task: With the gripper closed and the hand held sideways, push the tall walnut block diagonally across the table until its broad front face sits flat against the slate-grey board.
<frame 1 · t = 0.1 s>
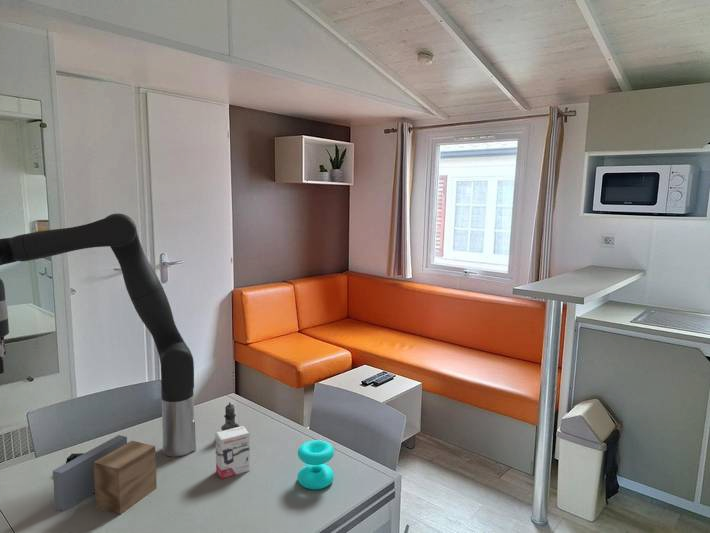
slate board: (94, 487, 126), on the table
walnut block: (127, 497, 122), on the table
turquoise spool: (315, 481, 131), on the table
dark grey figurine: (230, 437, 155), on the table
ink box: (233, 471, 135), on the table
black rectangular block: (76, 471, 135), on the table
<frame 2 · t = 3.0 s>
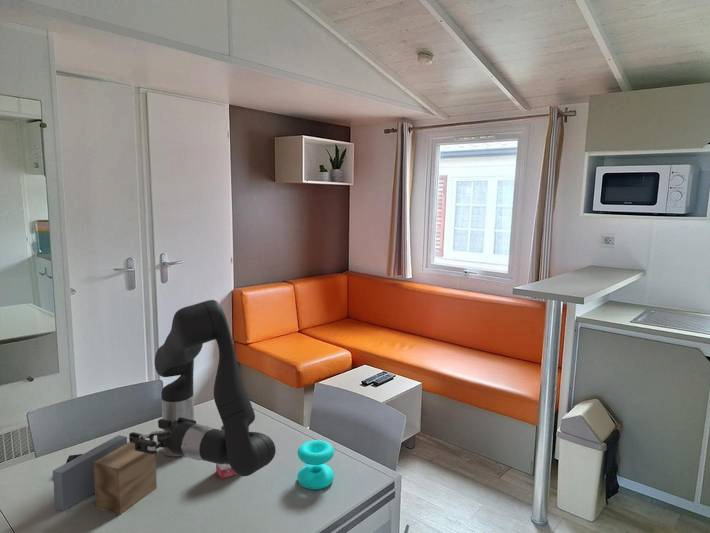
hand: (145, 429, 116), 20 cm above the table, tool horizontal, fingers open, 8 cm apart
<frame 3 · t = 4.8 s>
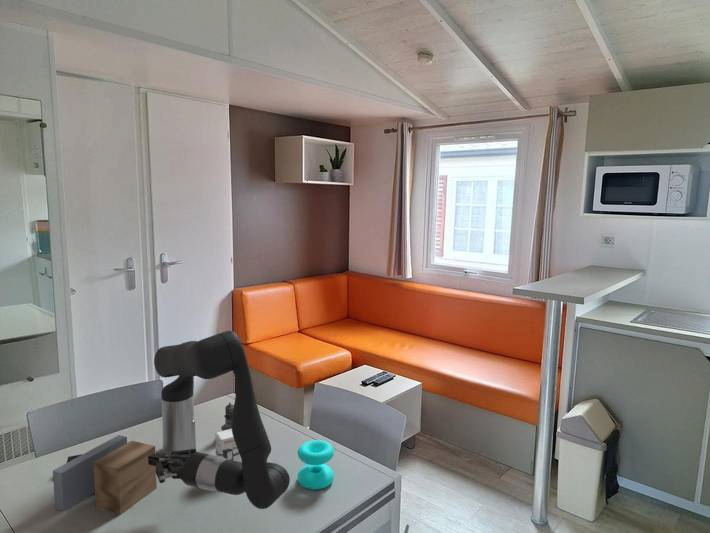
hand: (150, 458, 118), 12 cm above the table, tool horizontal, fingers closed
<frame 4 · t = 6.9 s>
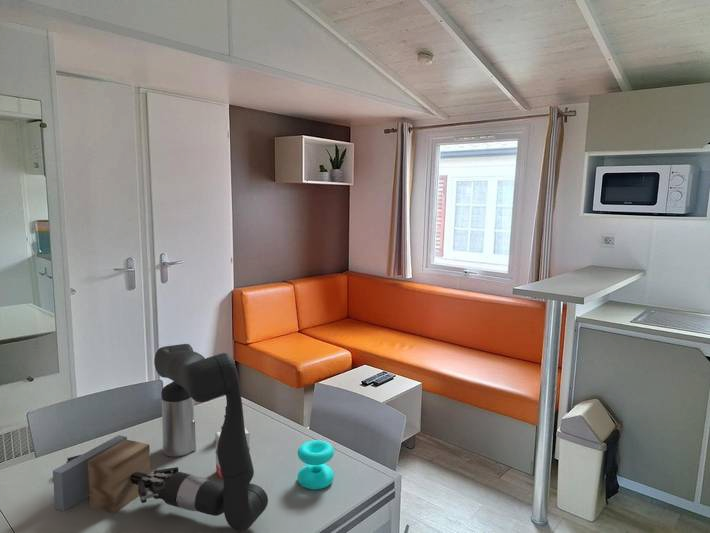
hand: (133, 477, 121), 6 cm above the table, tool horizontal, fingers closed
walnut block: (121, 496, 123), on the table, touching gripper
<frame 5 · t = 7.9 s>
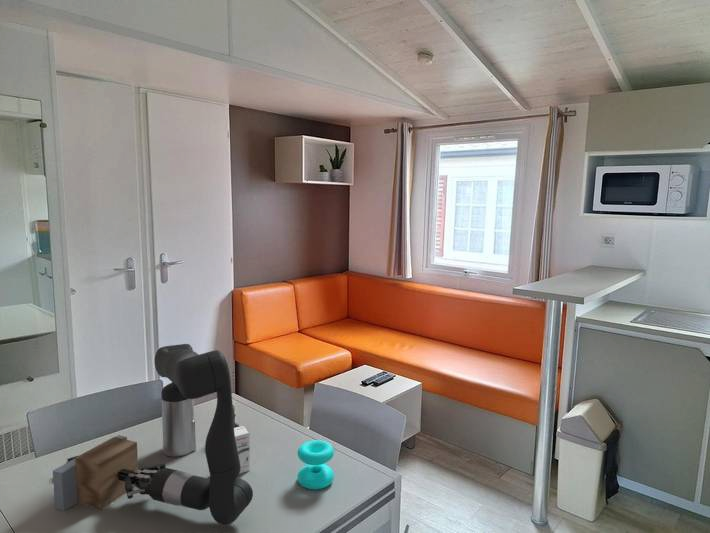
hand: (120, 474, 122), 6 cm above the table, tool horizontal, fingers closed
walnut block: (109, 492, 124), on the table, touching gripper, slate board
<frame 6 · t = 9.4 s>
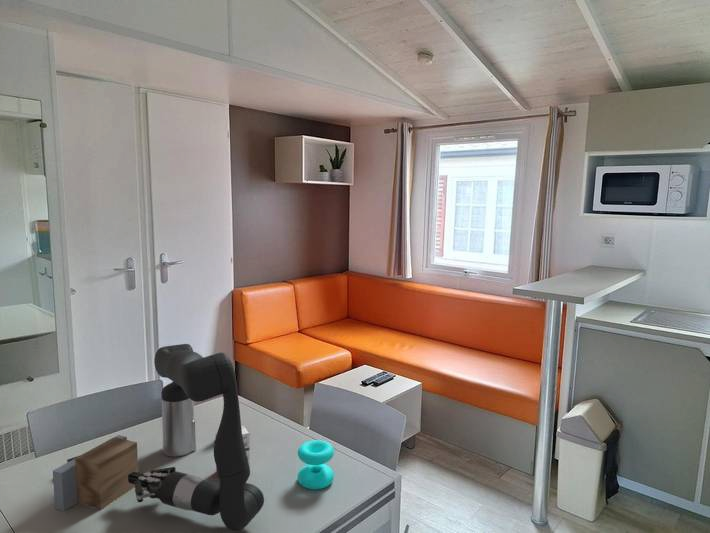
hand: (130, 476, 121), 6 cm above the table, tool horizontal, fingers closed
walnut block: (109, 493, 124), on the table
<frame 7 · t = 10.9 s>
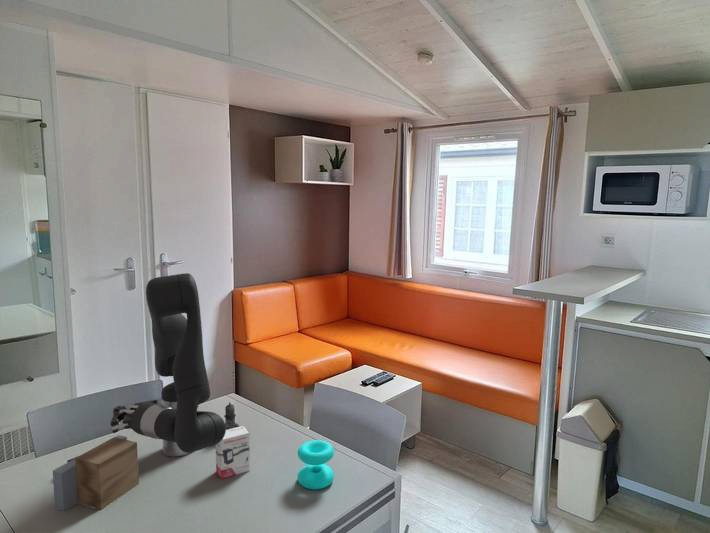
hand: (116, 410, 121), 23 cm above the table, tool horizontal, fingers closed
walnut block: (109, 493, 124), on the table, touching slate board
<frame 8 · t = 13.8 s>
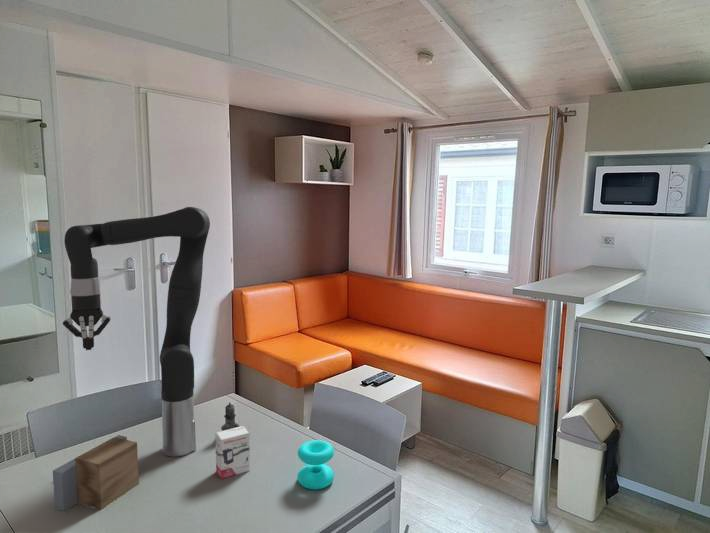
hand: (88, 349, 142), 32 cm above the table, tool pointing down, fingers closed
walnut block: (109, 493, 124), on the table
at the end: walnut block 5.5 cm from the slate board (horizontally); walnut block 0.3 cm from the target spot on the table beside the slate board, on the table; walnut block tilted 0° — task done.
